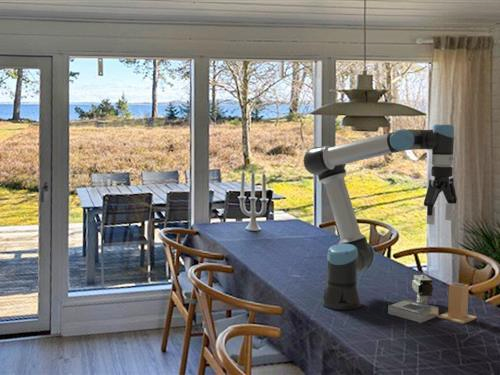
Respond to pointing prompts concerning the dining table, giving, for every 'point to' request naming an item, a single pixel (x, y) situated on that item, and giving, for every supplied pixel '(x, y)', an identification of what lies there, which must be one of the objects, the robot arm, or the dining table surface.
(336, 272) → the robot arm
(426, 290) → the pneumatic valve
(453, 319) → the pad
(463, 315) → the light wood tall block
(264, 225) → the dining table surface
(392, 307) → the grey flat block
